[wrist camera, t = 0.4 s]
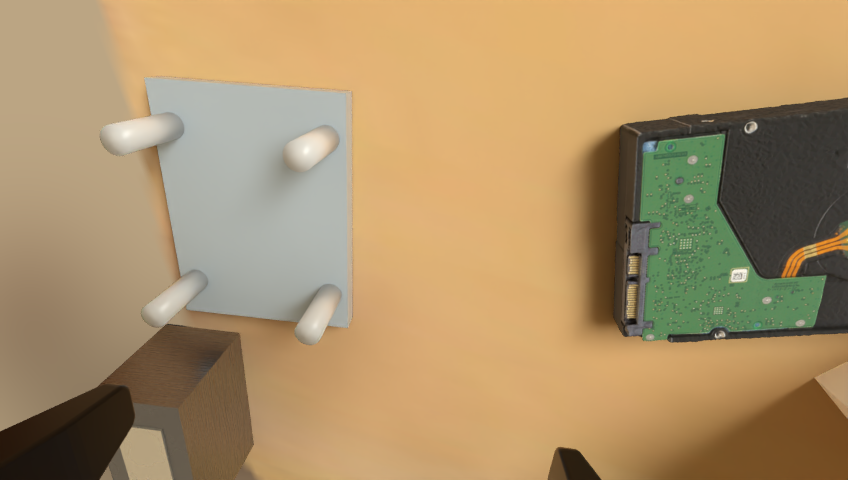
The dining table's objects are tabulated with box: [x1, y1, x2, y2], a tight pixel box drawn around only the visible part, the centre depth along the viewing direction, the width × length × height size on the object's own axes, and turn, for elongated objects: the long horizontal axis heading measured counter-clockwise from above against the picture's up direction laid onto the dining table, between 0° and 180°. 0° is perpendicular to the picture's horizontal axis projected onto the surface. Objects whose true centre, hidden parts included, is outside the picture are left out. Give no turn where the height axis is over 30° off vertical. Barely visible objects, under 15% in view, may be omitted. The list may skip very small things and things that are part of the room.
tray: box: [100, 76, 352, 345], centre depth 20 cm, size 12×9×4 cm
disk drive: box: [613, 98, 848, 342], centre depth 19 cm, size 10×3×15 cm
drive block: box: [98, 324, 254, 480], centre depth 25 cm, size 9×4×6 cm, turn 176°
